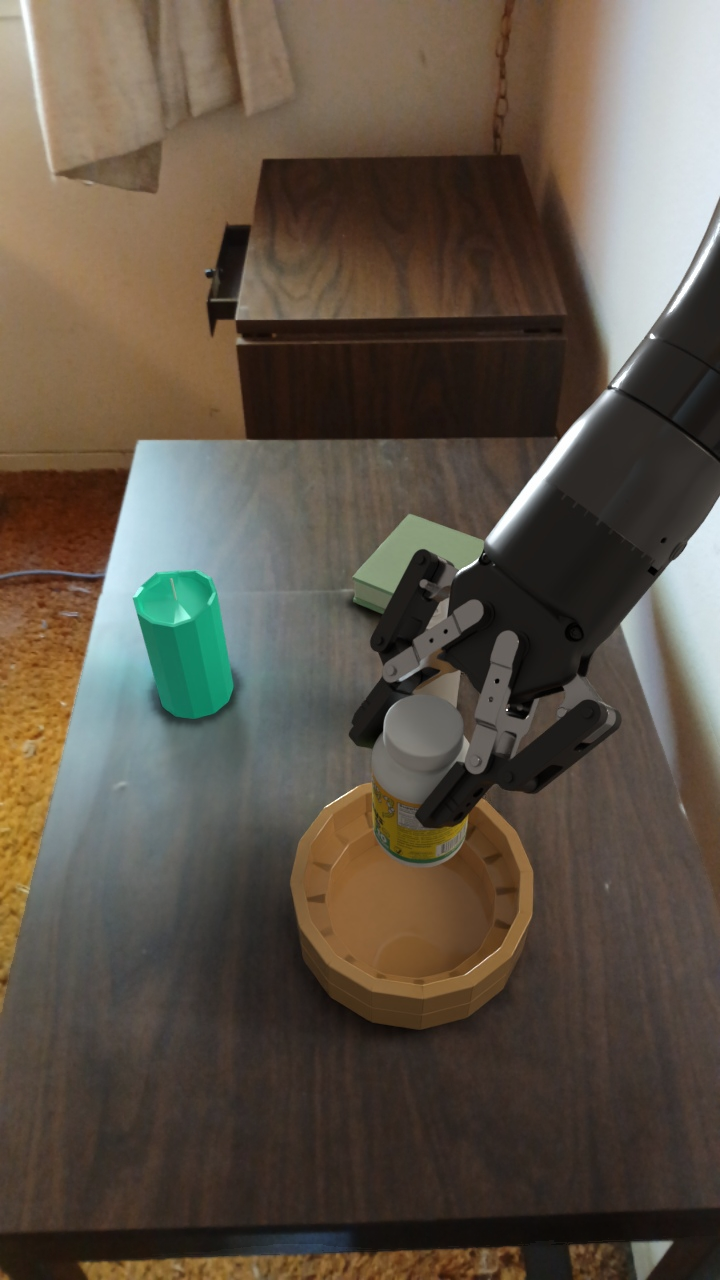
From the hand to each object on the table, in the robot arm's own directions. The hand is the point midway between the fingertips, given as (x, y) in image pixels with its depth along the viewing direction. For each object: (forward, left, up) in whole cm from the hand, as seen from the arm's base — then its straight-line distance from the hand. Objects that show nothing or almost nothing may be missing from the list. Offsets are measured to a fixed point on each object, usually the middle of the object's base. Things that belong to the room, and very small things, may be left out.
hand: (394, 780), depth 46 cm
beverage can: (+6, -16, -16) cm, 24 cm away
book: (+11, -29, -16) cm, 35 cm away
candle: (+23, -9, -16) cm, 30 cm away
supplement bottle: (-1, -2, -6) cm, 7 cm away
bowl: (-1, -1, -16) cm, 16 cm away
